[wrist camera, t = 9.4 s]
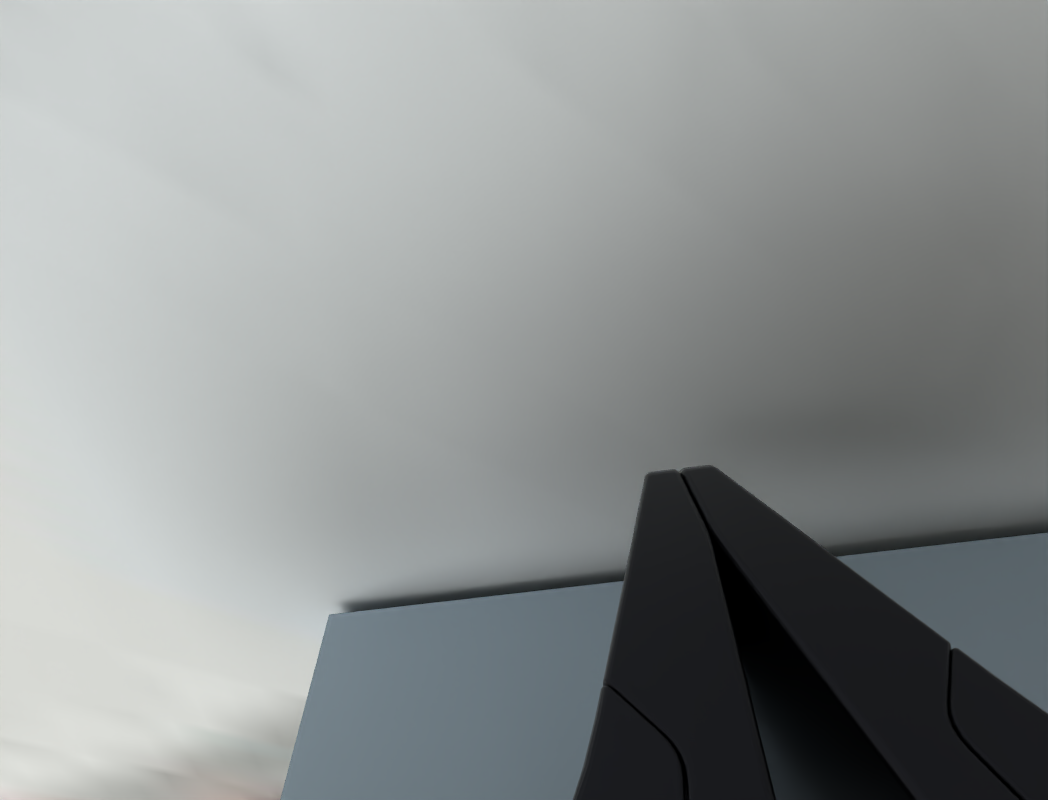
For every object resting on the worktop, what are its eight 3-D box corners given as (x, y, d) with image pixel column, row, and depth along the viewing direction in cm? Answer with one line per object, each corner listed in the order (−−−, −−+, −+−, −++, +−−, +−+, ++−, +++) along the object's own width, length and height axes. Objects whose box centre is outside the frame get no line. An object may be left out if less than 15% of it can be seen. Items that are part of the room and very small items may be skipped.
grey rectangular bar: (349, 663, 13) (292, 931, 10) (328, 614, 13) (258, 886, 9) (1101, 579, 13) (1355, 827, 9) (1130, 522, 12) (1421, 769, 8)
